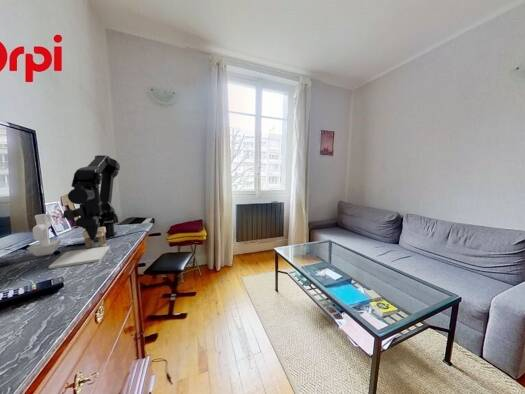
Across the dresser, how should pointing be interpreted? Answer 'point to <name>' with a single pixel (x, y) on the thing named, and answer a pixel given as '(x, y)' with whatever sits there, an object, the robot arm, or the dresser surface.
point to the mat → (80, 257)
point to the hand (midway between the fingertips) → (95, 237)
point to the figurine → (43, 237)
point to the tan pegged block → (99, 234)
